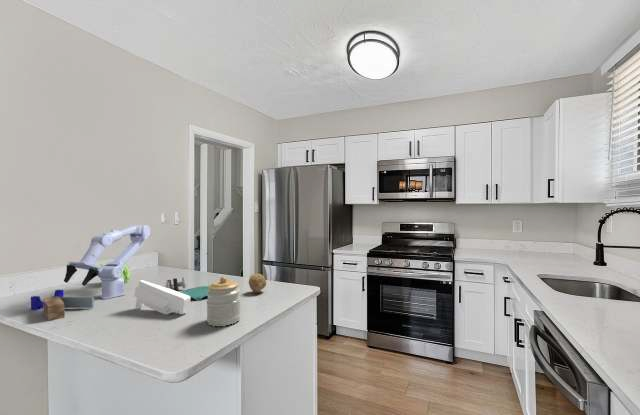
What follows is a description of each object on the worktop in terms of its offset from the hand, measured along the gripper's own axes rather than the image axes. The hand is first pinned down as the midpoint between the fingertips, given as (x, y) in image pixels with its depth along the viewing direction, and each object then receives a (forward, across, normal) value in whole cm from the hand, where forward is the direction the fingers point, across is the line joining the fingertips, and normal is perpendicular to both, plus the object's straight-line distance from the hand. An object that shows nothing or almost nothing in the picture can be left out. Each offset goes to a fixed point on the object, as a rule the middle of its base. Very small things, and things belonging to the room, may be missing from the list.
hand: (74, 283), depth 136 cm
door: (+8, +3, +7) cm, 11 cm away
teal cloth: (-11, +56, +13) cm, 58 cm away
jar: (+12, +72, -24) cm, 76 cm away
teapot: (-17, -4, +44) cm, 48 cm away
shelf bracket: (+8, +43, -7) cm, 44 cm away
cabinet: (+14, -1, +2) cm, 14 cm away
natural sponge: (-13, +81, +4) cm, 82 cm away
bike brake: (-11, +33, +22) cm, 41 cm away
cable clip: (+8, -14, +16) cm, 22 cm away
